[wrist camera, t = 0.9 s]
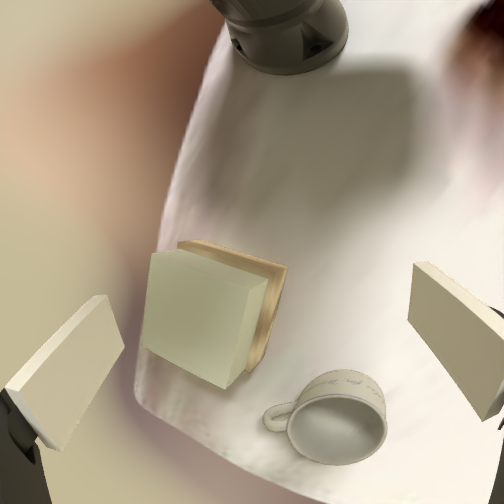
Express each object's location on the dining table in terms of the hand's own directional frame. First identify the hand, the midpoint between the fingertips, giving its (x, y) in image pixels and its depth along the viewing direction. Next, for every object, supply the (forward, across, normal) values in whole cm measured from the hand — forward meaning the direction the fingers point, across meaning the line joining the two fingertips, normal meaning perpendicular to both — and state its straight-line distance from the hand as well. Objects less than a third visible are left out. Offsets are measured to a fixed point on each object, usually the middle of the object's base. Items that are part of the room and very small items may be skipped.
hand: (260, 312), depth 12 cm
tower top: (+19, -6, -10) cm, 22 cm away
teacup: (+16, +7, -22) cm, 28 cm away
